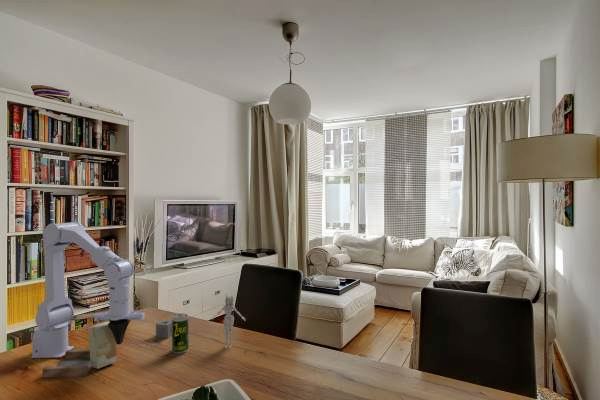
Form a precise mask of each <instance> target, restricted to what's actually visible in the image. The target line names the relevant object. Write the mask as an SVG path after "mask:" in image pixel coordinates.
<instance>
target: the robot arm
mask: <svg viewBox="0 0 600 400" xmlns="http://www.w3.org/2000/svg"><path fill="white" fill-rule="evenodd" d="M42 240H43V241H42V245H43V246H42V247H43V256H44V257H43V258H44V259H43V260H44V282H45V283H44V287H45V299H44V300H42V302H41V303H40V304H39V305H38V306H37V307H36V311H37V312H36V315H35V325H36V326H37V328H36V329H35V330H34V332H33V334H32V355H31V359H41V358H42V359H43V358H44V359H47V358H48V359H50V358H62V357H63V356H66V355H65V352H66V351H67V350H74V348H75V346H74V345H69V325H70V324H71V321H72V320H73V318H74V316H75V309H74V307H73V301H72V299H70V298H69V297H67V296H66V287H65V286H66V285H65V284H66V282H65V281H66V280H65V260H64V259H65V258H64V257H65V255H64V254H65V253H64V250H65V249H66V248H68V246H69V245H71V244H73V243H74V244H75V245H77V246H78V247H80V248H81V249H82V250H84V251H85V252H87V253H89V254H90V260H91V261H92V262H93V263H95V265H96V266H98V268H100V269H101V270H103V275H104V277H105V279H106V281H107V287H108V306H109V307H108V311H107V312H97V313H95V314H94V315H93V322H99V321H109V322H110V323H109V324H108V327H109V328H110V329H111V331H112V333H113V335H114V337H115V341H116V345H121V344H123V342H124V338H125V334H126V331H127V329H128V327H129V324H130V322H131V321H144V320H145V317H146V315H145V311H144V312H140V311H131V310H130V308H131V306H130V303H131V301H130V298H131V297H130V291H131V290H130V289H131V288H130V285H131V284H130V282H131V281H130V280H131V279H130V278H131V277H132V276H133V274H134V270H135V268H134V265H133V263H132V261H131V259H127V258H125V259H123V258H121V257H120V256H119V255H117V254H116V253H114V252H113V250H111V248H110V247H109V246H105V245H103V246H100V245H99V244H98V242H96V241H95V240H94V239H93V238H92V237H91V236H90V235H89V234H88V233H87V232H86V228H85V226H84V225H82V223H80V222H79V221H71V222H59V223H58V222H57V223H49V224H48V225H46V226H45V227H44V229H43V230H42Z"/></svg>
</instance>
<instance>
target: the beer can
mask: <svg viewBox="0 0 600 400" xmlns="http://www.w3.org/2000/svg"><path fill="white" fill-rule="evenodd" d="M171 320H172V336H171V351H172V353H174V354H176V355H178V354H184V353H187V352H188V351H189V343H190V342H189V327H190V325H189V321H190V320H189V316H188V313H176V314H174V315H173V316H172V319H171Z"/></svg>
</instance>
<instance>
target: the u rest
mask: <svg viewBox="0 0 600 400" xmlns="http://www.w3.org/2000/svg"><path fill="white" fill-rule="evenodd" d="M64 356H65V358H64V359H63V360H62V361H60V362H59V363H58V364H57V365H54V366H53V365H52V366H51V365H50V366H44V367H43V368H42V378H71V377H72V378H75V377H79V378H80V377H87V376H88V375H89V374H90V373H91V372H92V371H93V370H94V369H95V368H94V367H91V362H90V348H89V349H88V348H87V349H80V348H79V349H71V350H67V351H66V352H65V355H64Z"/></svg>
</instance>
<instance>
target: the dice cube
mask: <svg viewBox="0 0 600 400" xmlns="http://www.w3.org/2000/svg"><path fill="white" fill-rule="evenodd" d="M155 337H156V338H159V339H160V338H161V339H169V338H172V319H162V320H160V321H159V322H157V323H156V324H155Z"/></svg>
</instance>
